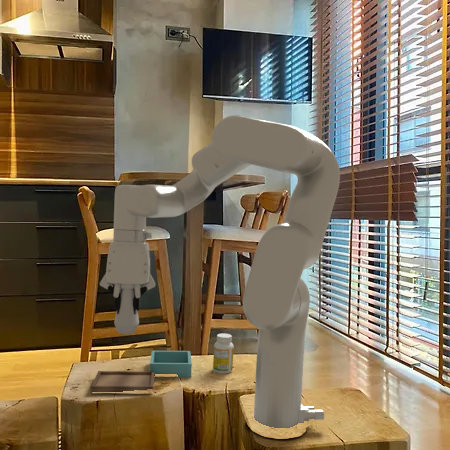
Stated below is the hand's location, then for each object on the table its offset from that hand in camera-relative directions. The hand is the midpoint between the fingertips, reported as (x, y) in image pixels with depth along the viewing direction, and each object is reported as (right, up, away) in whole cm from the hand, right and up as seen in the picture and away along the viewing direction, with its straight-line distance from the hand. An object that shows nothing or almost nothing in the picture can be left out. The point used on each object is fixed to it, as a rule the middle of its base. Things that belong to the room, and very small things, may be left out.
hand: (126, 312), depth 116 cm
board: (-1, -18, +1) cm, 18 cm away
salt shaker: (0, -5, 0) cm, 5 cm away
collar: (+9, -18, +13) cm, 24 cm away
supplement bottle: (+23, -18, +15) cm, 33 cm away
